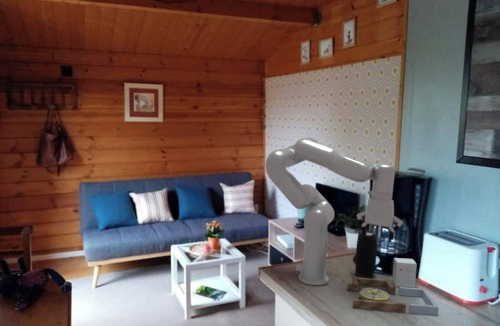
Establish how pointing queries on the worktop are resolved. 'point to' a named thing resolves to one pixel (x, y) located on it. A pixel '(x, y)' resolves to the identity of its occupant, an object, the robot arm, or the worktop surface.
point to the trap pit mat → (371, 287)
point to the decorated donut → (374, 294)
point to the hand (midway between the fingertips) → (377, 238)
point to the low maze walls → (375, 304)
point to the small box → (404, 272)
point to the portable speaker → (366, 254)
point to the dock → (417, 308)
